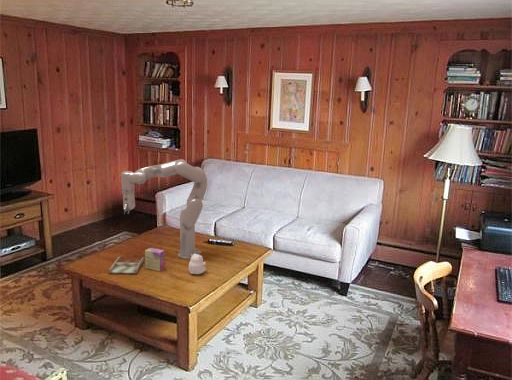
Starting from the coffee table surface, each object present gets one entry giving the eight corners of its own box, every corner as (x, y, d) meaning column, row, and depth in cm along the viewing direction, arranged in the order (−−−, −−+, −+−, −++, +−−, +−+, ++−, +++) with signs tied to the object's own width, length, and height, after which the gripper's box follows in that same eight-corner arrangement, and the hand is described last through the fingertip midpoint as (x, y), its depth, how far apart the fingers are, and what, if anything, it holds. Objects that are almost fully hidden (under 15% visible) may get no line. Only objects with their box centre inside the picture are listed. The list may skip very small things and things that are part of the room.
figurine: (197, 278, 251) (197, 259, 249) (184, 274, 256) (184, 255, 254) (207, 272, 260) (208, 253, 257) (195, 268, 265) (195, 250, 262)
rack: (144, 261, 272) (143, 257, 272) (136, 274, 253) (136, 270, 252) (118, 260, 272) (118, 256, 271) (108, 274, 252) (108, 269, 252)
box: (164, 267, 264) (164, 249, 261) (159, 271, 259) (159, 253, 256) (150, 265, 267) (149, 247, 265) (145, 268, 262) (144, 250, 259)
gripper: (130, 194, 258) (131, 221, 262) (138, 188, 275) (139, 213, 279) (117, 194, 258) (119, 221, 262) (126, 187, 275) (127, 213, 279)
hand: (129, 217), depth 270 cm, fingers open, 9 cm apart
